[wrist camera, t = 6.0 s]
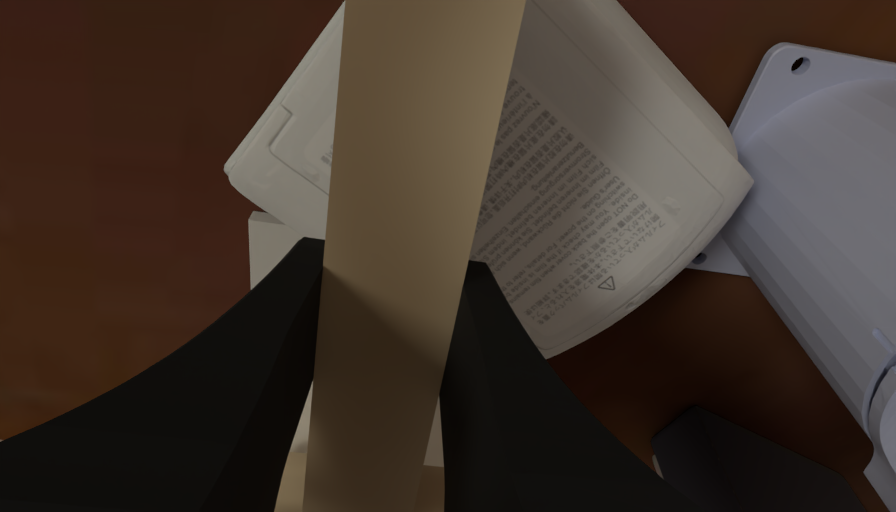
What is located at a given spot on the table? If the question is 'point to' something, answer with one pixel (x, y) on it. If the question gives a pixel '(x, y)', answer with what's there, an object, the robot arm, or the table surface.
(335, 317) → the tan wooden slat
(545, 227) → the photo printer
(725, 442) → the grey red panelled box
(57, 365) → the table surface
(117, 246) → the table surface
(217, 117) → the table surface
